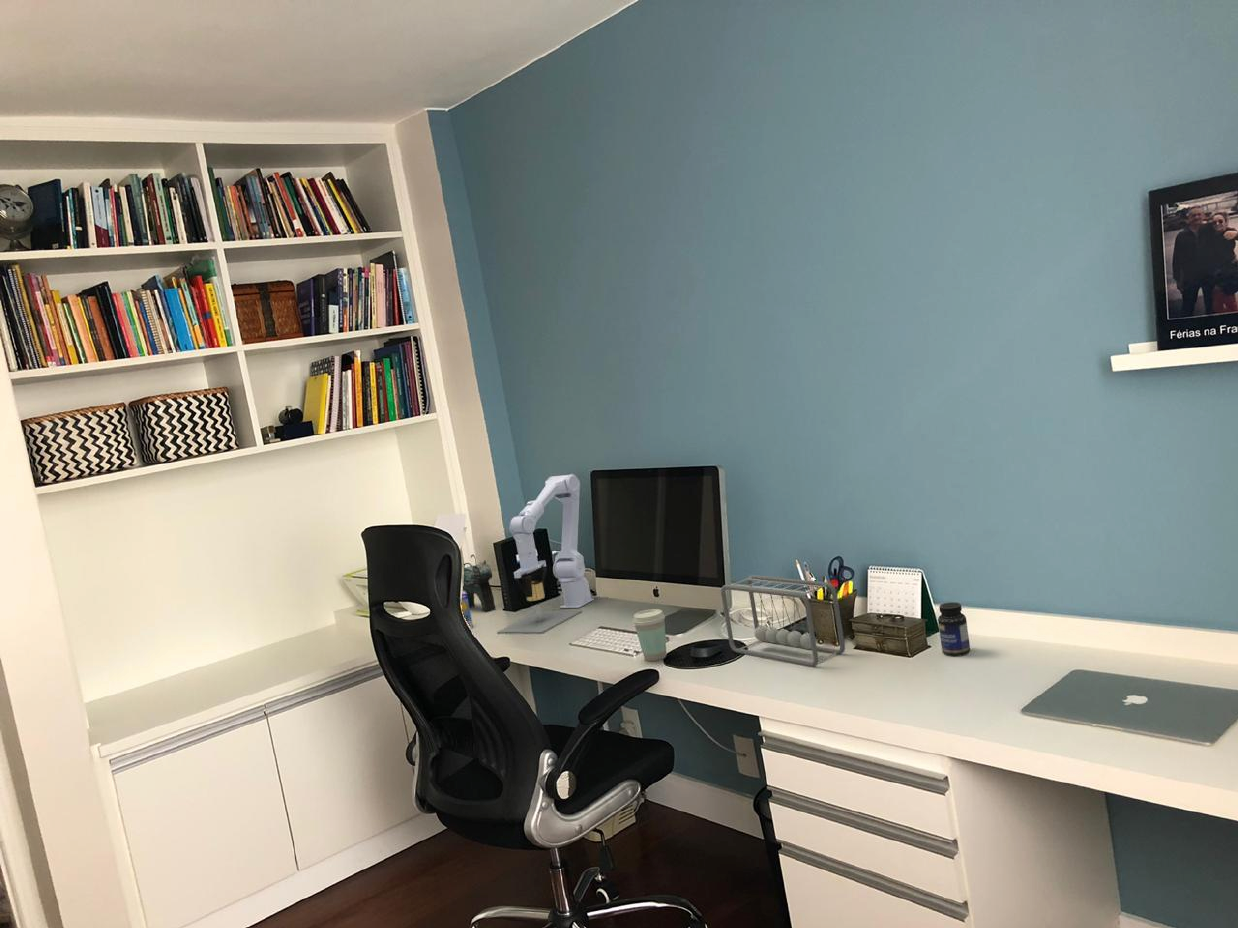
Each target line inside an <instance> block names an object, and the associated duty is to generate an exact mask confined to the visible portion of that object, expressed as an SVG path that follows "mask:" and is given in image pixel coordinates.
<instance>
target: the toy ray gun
mask: <svg viewBox="0 0 1238 928" xmlns="http://www.w3.org/2000/svg"><path fill="white" fill-rule="evenodd" d="M472 557H473V558H474V560H475V561H474V562H475V563H474V565H472V563H469V562H465V563H464V564H463V565H464V586H463V591H466V593H467V597H468V602H469V608H470V609H471V608H473V607H472V606H474V607H475V595H476V596H477V598H478V599H479V602H480V603H481V609H482V612H486V613H489V612H492V611H495V610H496V604H495V598H494V597H495V596H494V594H493V590H492V587H491V584H490V580H491V579H492V578H493V572H492V568H491V566H490V565H489V564H488V563H487V561H486V560H483V562H482V561H481V560H480V561H479V563H478V564H477V558H476V556H475V555H474V554H471V555H470V559H472ZM466 565H469V566H466ZM465 566H466V567H465Z"/></svg>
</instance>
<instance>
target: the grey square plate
mask: <svg viewBox="0 0 1238 928" xmlns="http://www.w3.org/2000/svg"><path fill="white" fill-rule="evenodd" d="M533 608H534V613H532V614H530V615H528V616H525V617H523V619H520V620H518V621H517V622H516V621H515V622H514V623H512V624H511V625H509V626H507V627H504V628H503V629H501V630H498V631H496V632H497V634H498V635H499V634H500V635H501V633H525V634H530V635H531V634H541V635H542V634H545V633H546V632H548V631H550V630H552V629H553V628H555V627H557V626H559V625H561V624H562V622H563V623H564V621H565V622H566V621H568V620H570V619H572V618H574V617H576V616H577V615H579V614H581V613H582V612H583V611H582V610H543V611H542V608H541V604H535V605H534V607H533ZM525 634H524V635H525Z"/></svg>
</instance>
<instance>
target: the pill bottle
mask: <svg viewBox="0 0 1238 928" xmlns="http://www.w3.org/2000/svg"><path fill="white" fill-rule="evenodd" d="M962 610H963V608H962V604H961V603H960V602H954V601H953V602H945V603H942V604H940V605H939V612H940V613H941V614H940V615H938V618H937V622H938V623H937V624H938V631H939V638H940V644H941V652H942V654H943V655H944V656H949V657H960V656H964V655H967V654H969V653H970V652H971V645H970V636H969V630H968V629H969V628H968V623H967V622H968V621H967V616H966V614H964V613H962Z"/></svg>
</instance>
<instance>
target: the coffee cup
mask: <svg viewBox="0 0 1238 928" xmlns="http://www.w3.org/2000/svg"><path fill="white" fill-rule="evenodd" d="M665 619H666V617H665V614H664V613H663V610H662V609H658V608H656V609H655V608H653V609H646V610H640V611H639V612H637V613H634V615H633V619H632V624H633V625H634V627H635V631H636V635H637V637H638V640H639V645H640V647H641V652H642V654H643V657H644V660H645V661H647V662H656V661H661V660H662V659H665V658H666V657H667V644H666V643H667V642H666V640H667V639H666V638H667V637H666V624H665Z"/></svg>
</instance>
